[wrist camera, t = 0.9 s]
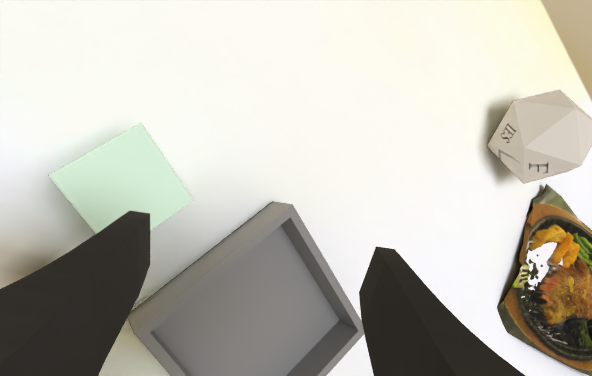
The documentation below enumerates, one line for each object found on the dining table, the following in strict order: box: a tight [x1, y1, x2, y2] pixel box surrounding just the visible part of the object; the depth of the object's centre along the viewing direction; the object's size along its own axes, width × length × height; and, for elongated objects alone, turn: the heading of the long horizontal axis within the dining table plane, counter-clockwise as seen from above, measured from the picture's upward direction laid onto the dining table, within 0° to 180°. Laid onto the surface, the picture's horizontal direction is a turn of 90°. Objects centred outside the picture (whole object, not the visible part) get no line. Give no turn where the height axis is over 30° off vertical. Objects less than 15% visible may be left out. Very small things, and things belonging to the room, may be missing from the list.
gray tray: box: [128, 201, 364, 376], centre depth 27 cm, size 12×12×3 cm
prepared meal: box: [497, 184, 592, 376], centre depth 50 cm, size 28×4×18 cm
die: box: [487, 90, 592, 184], centre depth 39 cm, size 8×9×10 cm
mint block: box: [48, 123, 194, 234], centre depth 21 cm, size 4×4×6 cm
